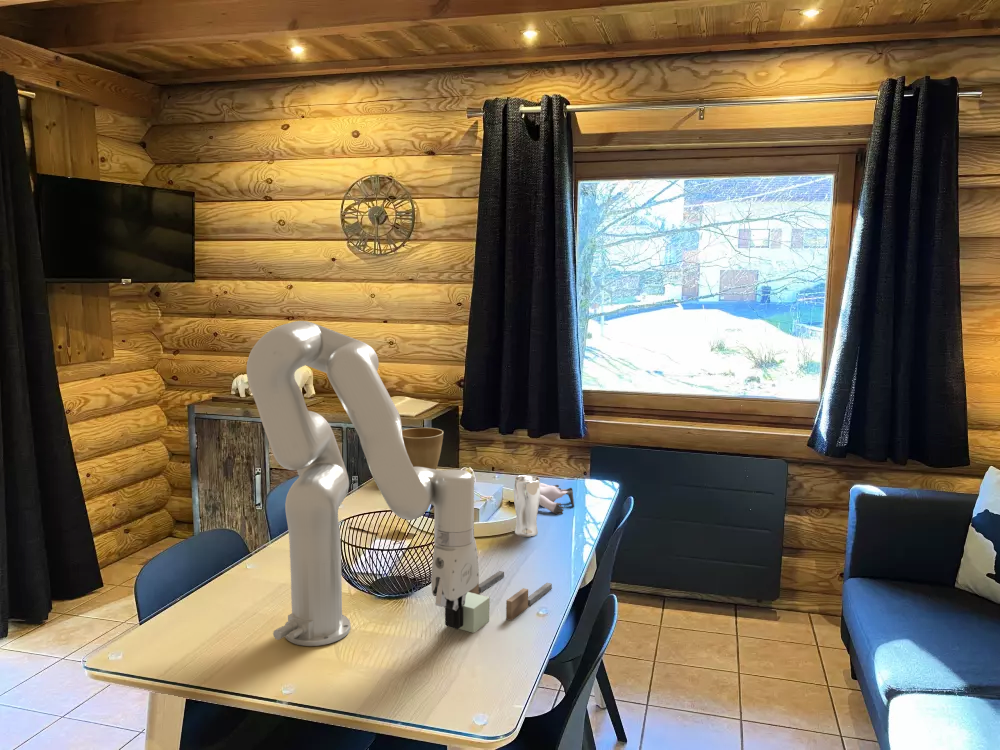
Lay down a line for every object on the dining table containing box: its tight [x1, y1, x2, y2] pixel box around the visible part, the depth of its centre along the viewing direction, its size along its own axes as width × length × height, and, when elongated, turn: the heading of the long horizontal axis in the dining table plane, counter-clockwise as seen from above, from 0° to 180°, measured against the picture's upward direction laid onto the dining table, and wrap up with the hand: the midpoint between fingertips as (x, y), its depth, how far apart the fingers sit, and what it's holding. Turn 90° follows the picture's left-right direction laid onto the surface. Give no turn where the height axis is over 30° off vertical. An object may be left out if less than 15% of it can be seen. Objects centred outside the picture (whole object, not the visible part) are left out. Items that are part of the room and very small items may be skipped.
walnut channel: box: [469, 582, 529, 621], centre depth 164 cm, size 7×13×4 cm, turn 59°
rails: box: [479, 570, 553, 606], centre depth 173 cm, size 10×13×1 cm
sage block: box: [458, 592, 491, 634], centre depth 157 cm, size 6×6×5 cm
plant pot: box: [402, 427, 444, 470], centre depth 255 cm, size 15×15×16 cm
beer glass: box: [513, 474, 541, 538], centre depth 207 cm, size 7×7×15 cm
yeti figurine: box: [512, 482, 575, 515], centre depth 234 cm, size 20×7×20 cm
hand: (454, 625), depth 152 cm, fingers closed
